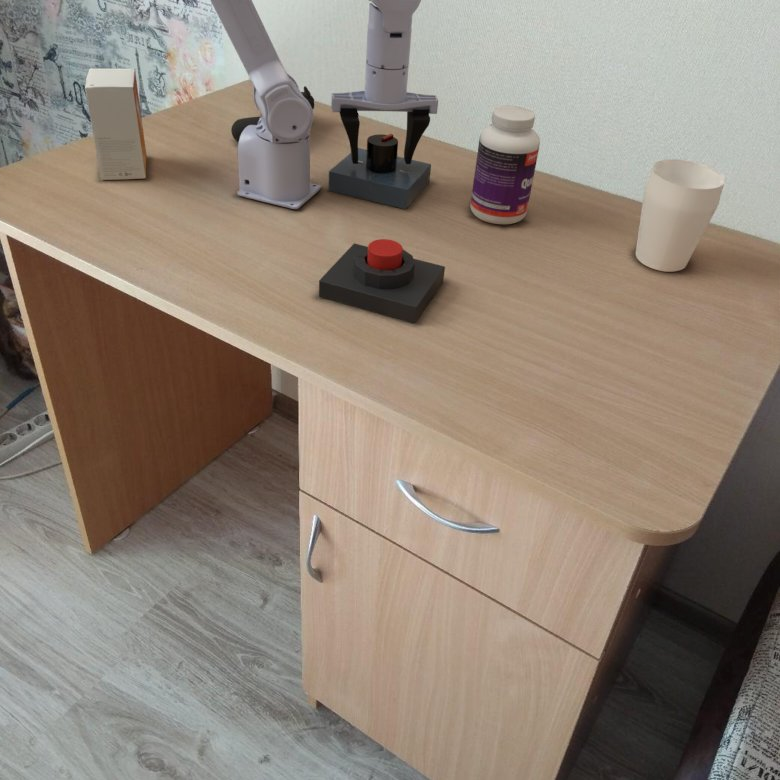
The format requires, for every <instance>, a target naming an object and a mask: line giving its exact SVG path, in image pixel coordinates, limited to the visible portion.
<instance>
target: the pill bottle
mask: <svg viewBox="0 0 780 780" xmlns="http://www.w3.org/2000/svg"><path fill="white" fill-rule="evenodd" d="M535 118H536V114H535V112H533V111H532V110H530V109H528V108H525V107H523V106H517V105H498V106H496V107H494V108H493V109H492V114H491V123H490V124H488V125H486V126H485V127H484V128H483V129H482V130H481V132H480V134H479V140H478V147H477V154H476V161H475V167H474V176H473V182H472V190H471V196H470V204H469V207H470V210H471V212H472V213H473V215H474V216H475V217H476V218H478V219H479V220H481V221H482V222H486V223H489V224H495V225H513V224H516V223H519V222H521V221H522V220H523V219H525V217H526V216H527V213H528V209H529V203H530V198H531V192H532V187H533V184H534V183H533V182H534V177H535V172H536V166H537V161H538V157H539V150H540V145H541V139H540V136H539V135H538V133H537V132H536V130H535V129H533V127H534V125H535V121H536V120H535Z"/></svg>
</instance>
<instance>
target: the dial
mask: <svg viewBox="0 0 780 780" xmlns="http://www.w3.org/2000/svg"><path fill="white" fill-rule="evenodd" d="M366 150H367V154H366V168H367V169H368V170H370V171H372V172H375V173H390V172H393V171H395V170H396V165H397V157H398V151H399V140H398V139H397V138H396V137H394V134H393V133H389V134H373V135H370V136H368V137H367V138H366Z"/></svg>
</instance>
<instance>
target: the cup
mask: <svg viewBox="0 0 780 780" xmlns="http://www.w3.org/2000/svg"><path fill="white" fill-rule="evenodd" d="M725 183H726V179H725V176H724V175H723V174H722V173H721V172H720V171H718V170H717V169H715V168H713V167H711V166H709V165H706V164H703V163H700V162H698V161H692V160H688V159H687V160H686V159H677V158H676V159H675V158H671V159H669V158H668V159H662V160H659V161H656V162H655V163H654V164H653V165H652V168H651V170H650V173H649V176H648V178H647V181H646V183H645V187H644V191H643V197H642V203H641V210H640V218H639V225H638V226H639V227H638V233H637V239H636V240H637V241H636V247H635V257H636V259H637V260H638V261H639V262H640V264H642V265H644V266H646V267H647V268H649V269H652V270H655V271H659V272H665V273H666V272H669V273H670V272H671V273H672V272H679V271H682V270H683V269H685V268H686V267H687V266H688V263H689V262H690V259H691V258H692V256H693V254H694V252H695V250H696V249H697V247H698V244H699V243H700V241H701V239H702V237H703V235H704V233H705V232H706V229H707V228H708V226H709V224H710V222H711V220H712V218H713V216H714V215H715V213H716V211H717V209H718V206H719V204H720V200H721V195H722V193H723V189H724V186H725Z"/></svg>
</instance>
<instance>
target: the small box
mask: <svg viewBox="0 0 780 780" xmlns="http://www.w3.org/2000/svg"><path fill="white" fill-rule="evenodd" d="M136 73H137V72H136V68H107V67H105V68H104V67H103V68H97V67H96V68H94V67H93V68H92V67H91V68H89V69H88V71H87V74H86V75H87V76H86V78H85V85H84V91H85V98H86V103H87V108H88V115H89V120H90V124H91V125H90V126H91V130H92V131H91V132H92V137H93V141H94V142H93V143H94V147H95V153H96V159H97V165H98V171H99V178H100V180H101V181H109V180H110V181H111V180H112V181H113V180H114V181H116V180H117V181H118V180H139V179H140V180H141V179H147V148H146V141H145V135H144V128H143V120H142V119H143V118H142V111H141V105H140V97H139V89H138V81H137V74H136Z"/></svg>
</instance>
